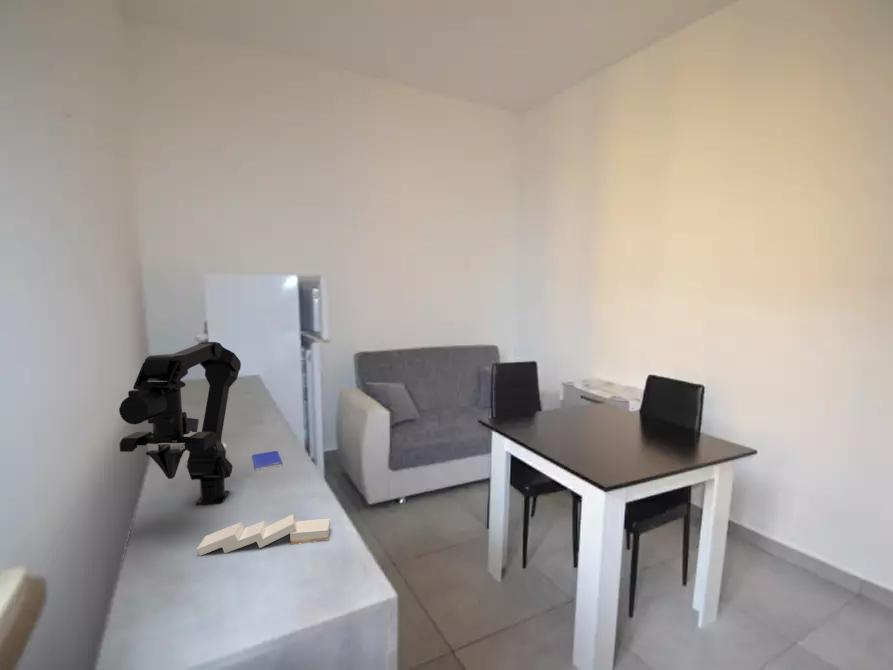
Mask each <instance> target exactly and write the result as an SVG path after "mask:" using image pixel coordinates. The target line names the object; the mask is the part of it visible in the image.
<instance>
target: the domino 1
mask: <svg viewBox="0 0 893 670" xmlns="http://www.w3.org/2000/svg"><path fill="white" fill-rule="evenodd" d="M244 528H245V527H244V524H243V522H242V521H240V522H238V523H235V524H233V525H230V526H227V527H225V528H223V529H219V530H217V531H215V532H212V533H210V534H207V535H205V536H204V537H203V539H202V541H201V542H200V544H199V545H198V546H197V548H196V551H197V553H198V555H199V557H200V556H203V555H205V554H208V553H210V552H213V551H216V550H218V549H221V548H222V547H223V546H226V545H228V544H231V543H233V542H236V541H238V539H239V537H240V535H241V533H242V532H243V530H244Z"/></svg>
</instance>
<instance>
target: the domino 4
mask: <svg viewBox="0 0 893 670" xmlns="http://www.w3.org/2000/svg"><path fill="white" fill-rule="evenodd" d="M330 527H331V518H322V519H321V518H319V519H309V520H307V519H306V520H296V530H295V531H293V532H291V533H289V538H290V539H289V540H290V541H291V540H301V539H312V538H324V537H328V534H329V535H330V529H331V528H330Z"/></svg>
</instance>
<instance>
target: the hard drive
mask: <svg viewBox="0 0 893 670" xmlns="http://www.w3.org/2000/svg"><path fill="white" fill-rule="evenodd" d="M251 459H252V463H253V464H254V465H253V467H254V468H255V469H254V471H255V470H257V471H260V470H259V469H263V470H265V469H264V468H268V469H272V468H271V467H274V468H277V467H276V466H279V467H283V466H284V464H283V463H284V462H283V460H282V458H281V455H280V454H279V451H278V450H274V451H267V452H261V453H255V454H252V455H251ZM282 465H283V466H282Z"/></svg>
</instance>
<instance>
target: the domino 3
mask: <svg viewBox="0 0 893 670" xmlns="http://www.w3.org/2000/svg"><path fill="white" fill-rule="evenodd" d="M296 521H297V519H296V516H295V515H294V513H292V514H290V515H288V516H286V517H284V518H282V519H280V520H278V521H276V522H274V523H272V524H270V525H267V529H266V532H265V535H264V537H263V539H262V540H259V541H257V542H256V543H257V546H258V548H259V549H261V548H264V547H266V545H269V544H271V543H273V542H274V541H277V540H279V539H281V538H283V537H285V536H288V535H290V533H291V532H293V531H295V530H296Z"/></svg>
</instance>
